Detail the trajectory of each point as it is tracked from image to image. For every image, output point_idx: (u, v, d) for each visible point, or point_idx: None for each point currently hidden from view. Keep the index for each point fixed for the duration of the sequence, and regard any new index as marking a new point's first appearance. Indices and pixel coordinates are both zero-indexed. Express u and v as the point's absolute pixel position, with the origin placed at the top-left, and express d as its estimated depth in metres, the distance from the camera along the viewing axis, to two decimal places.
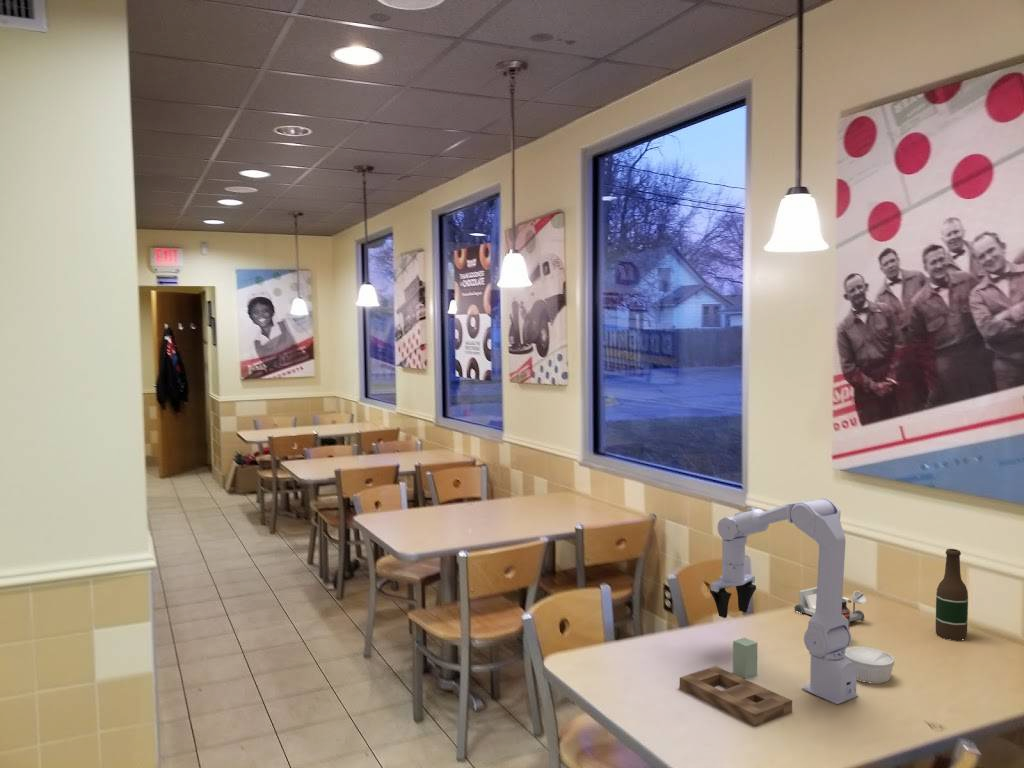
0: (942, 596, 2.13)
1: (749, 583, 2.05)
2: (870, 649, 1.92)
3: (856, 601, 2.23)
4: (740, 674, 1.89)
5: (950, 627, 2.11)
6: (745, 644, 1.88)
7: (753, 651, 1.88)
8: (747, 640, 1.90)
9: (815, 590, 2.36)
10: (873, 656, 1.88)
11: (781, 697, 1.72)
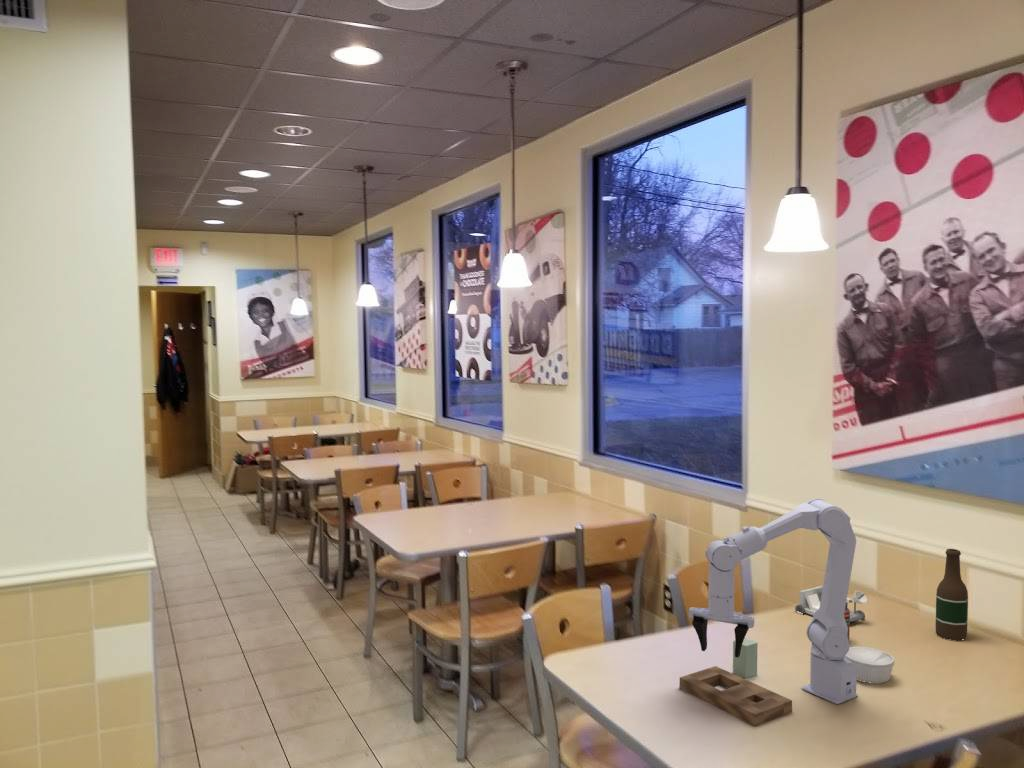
0: (942, 596, 2.13)
1: (743, 626, 1.76)
2: (870, 649, 1.92)
3: (857, 601, 2.23)
4: (740, 674, 1.89)
5: (950, 628, 2.11)
6: (745, 644, 1.88)
7: (753, 651, 1.88)
8: (747, 640, 1.90)
9: (815, 590, 2.36)
10: (873, 656, 1.88)
11: (781, 697, 1.72)
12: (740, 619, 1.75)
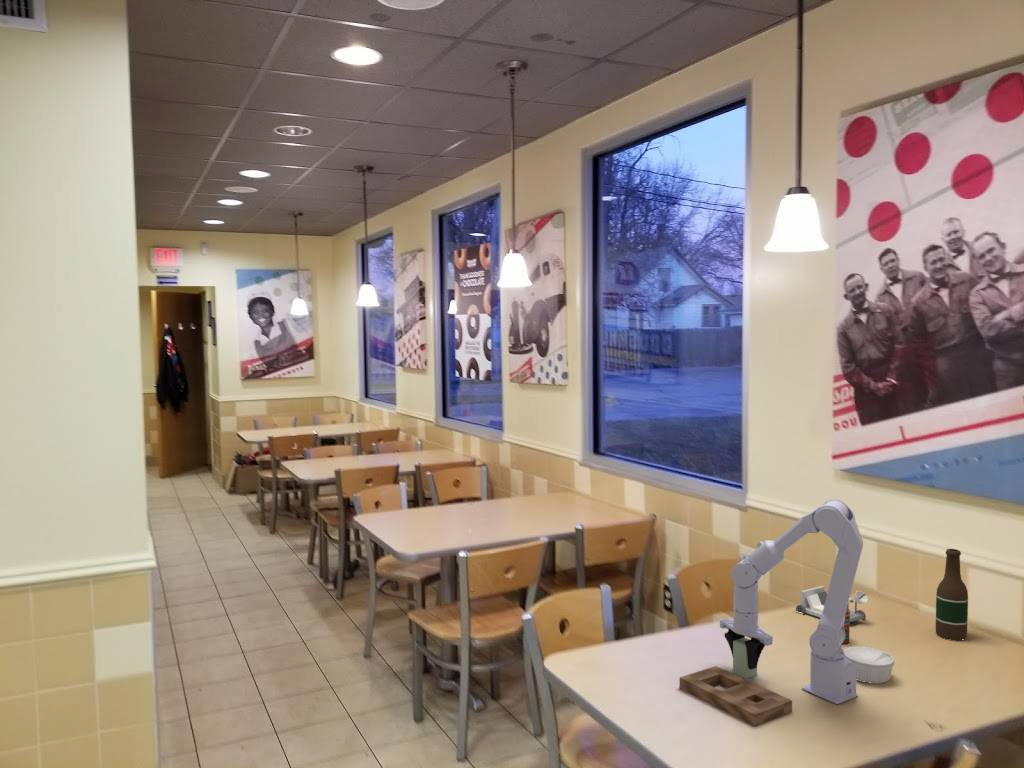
0: (942, 596, 2.13)
1: (755, 640, 1.86)
2: (870, 649, 1.92)
3: (858, 601, 2.23)
4: (740, 674, 1.89)
5: (950, 627, 2.11)
6: None
7: None
8: (747, 640, 1.90)
9: (816, 590, 2.36)
10: (873, 656, 1.88)
11: (781, 697, 1.72)
12: (757, 635, 1.85)
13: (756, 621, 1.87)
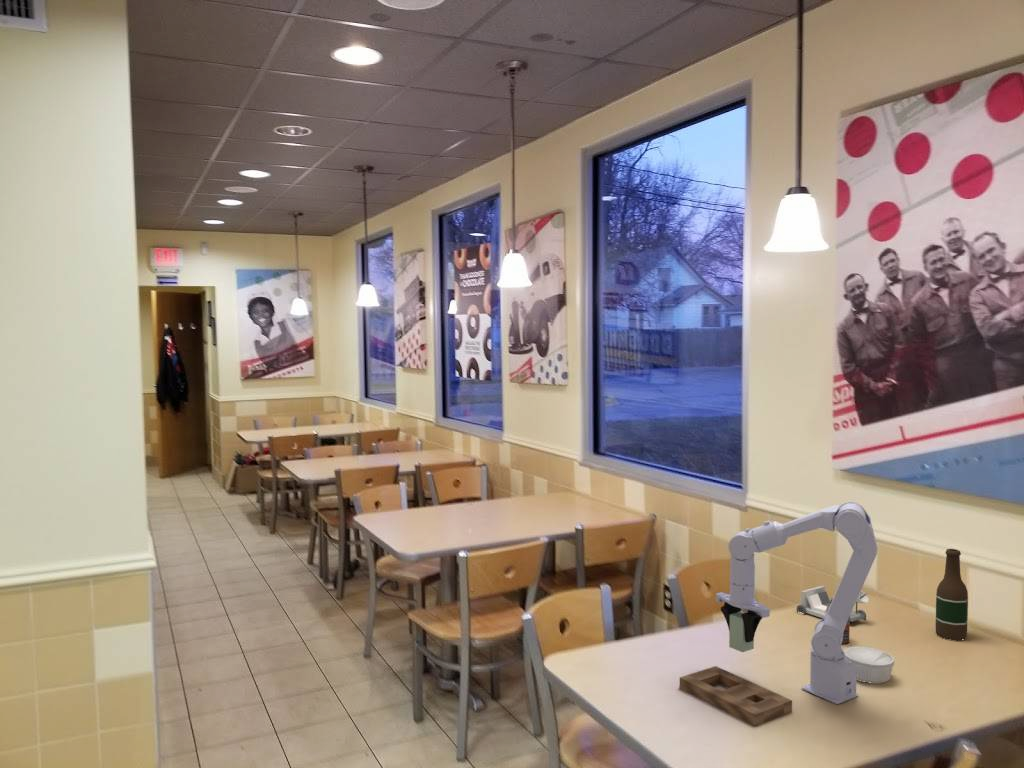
0: (942, 596, 2.13)
1: (752, 613, 1.84)
2: (870, 649, 1.92)
3: (859, 601, 2.23)
4: (737, 648, 1.87)
5: (950, 627, 2.11)
6: None
7: None
8: None
9: (816, 590, 2.36)
10: (873, 656, 1.88)
11: (781, 697, 1.72)
12: (754, 608, 1.83)
13: (753, 593, 1.86)
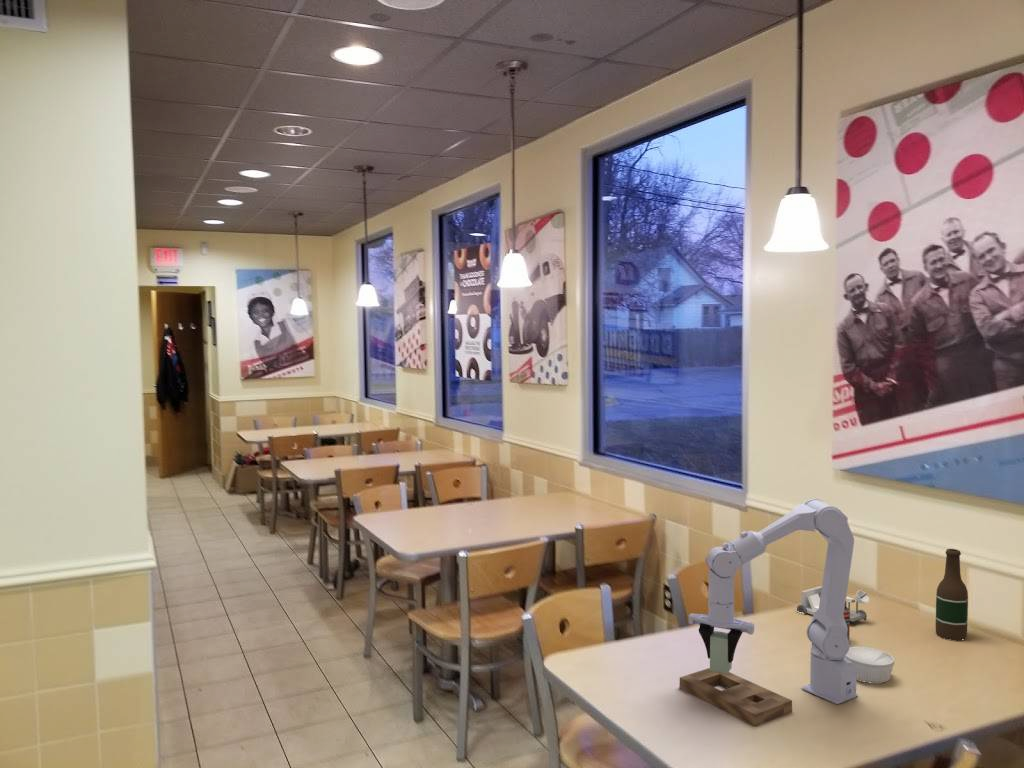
0: (942, 596, 2.13)
1: (736, 631, 1.76)
2: (870, 649, 1.92)
3: (859, 601, 2.23)
4: (720, 670, 1.78)
5: (950, 627, 2.11)
6: (724, 637, 1.78)
7: None
8: (721, 633, 1.80)
9: (816, 590, 2.36)
10: (873, 656, 1.88)
11: (781, 697, 1.72)
12: (740, 625, 1.75)
13: (733, 611, 1.78)
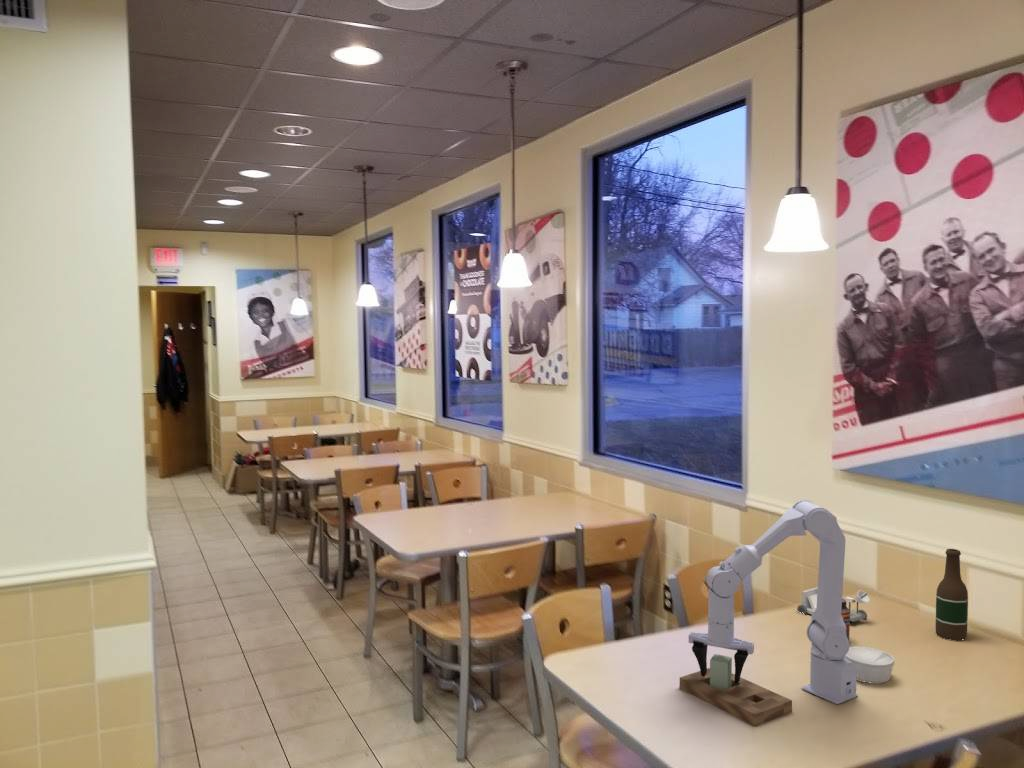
0: (942, 596, 2.13)
1: (743, 652, 1.76)
2: (870, 649, 1.92)
3: (860, 601, 2.23)
4: None
5: (950, 627, 2.11)
6: (724, 661, 1.78)
7: (730, 667, 1.79)
8: (721, 657, 1.80)
9: None
10: (873, 656, 1.88)
11: (781, 697, 1.72)
12: (740, 645, 1.75)
13: (733, 630, 1.78)
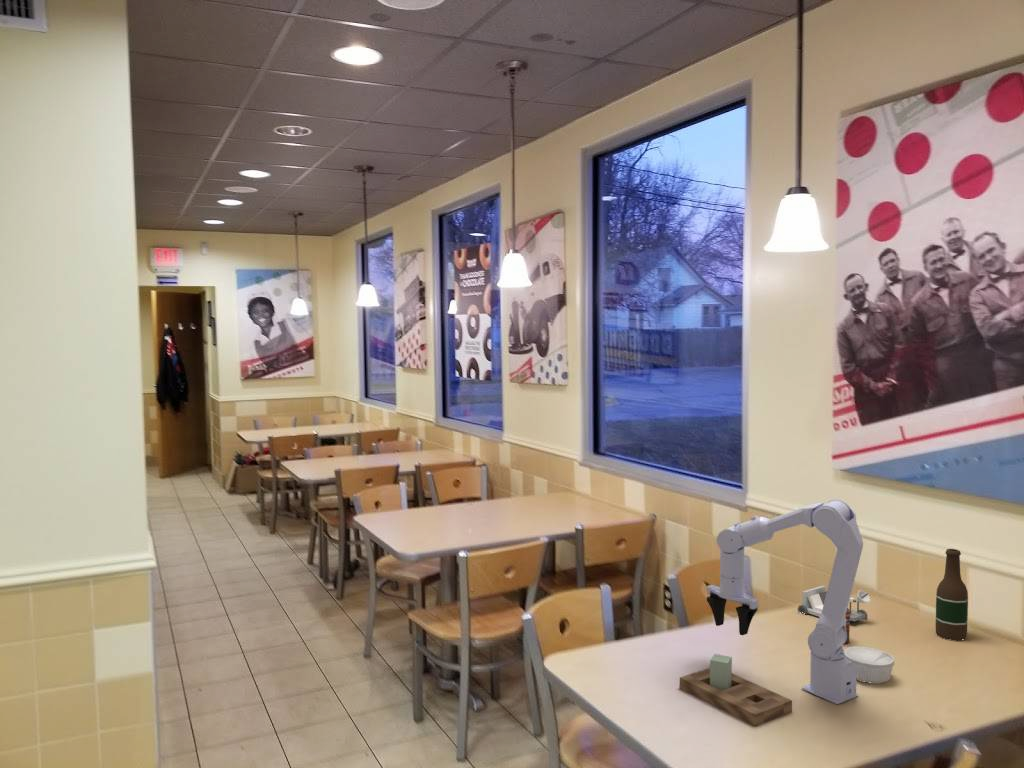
0: (942, 596, 2.13)
1: (746, 606, 1.89)
2: (870, 649, 1.92)
3: (861, 600, 2.23)
4: None
5: (950, 627, 2.11)
6: (724, 661, 1.78)
7: (730, 667, 1.79)
8: (721, 657, 1.80)
9: (817, 590, 2.36)
10: (873, 656, 1.88)
11: (781, 697, 1.72)
12: (743, 599, 1.89)
13: (742, 586, 1.91)
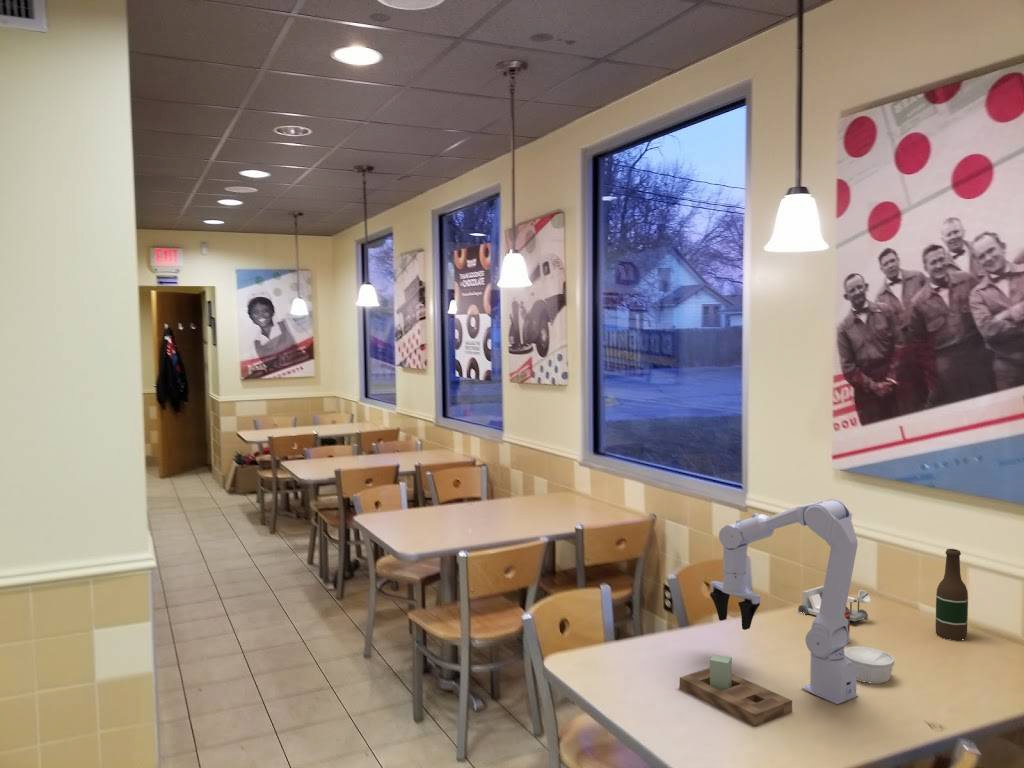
0: (942, 596, 2.13)
1: (748, 601, 1.92)
2: (870, 649, 1.92)
3: (861, 600, 2.23)
4: None
5: (950, 627, 2.11)
6: (724, 661, 1.78)
7: (730, 667, 1.79)
8: (721, 657, 1.80)
9: (817, 590, 2.36)
10: (873, 656, 1.88)
11: (781, 697, 1.72)
12: (745, 595, 1.92)
13: (745, 581, 1.95)
